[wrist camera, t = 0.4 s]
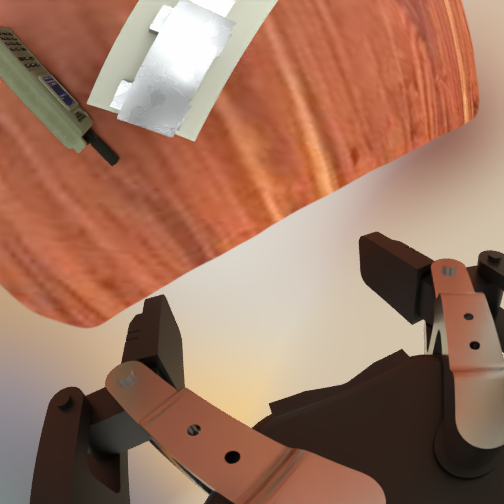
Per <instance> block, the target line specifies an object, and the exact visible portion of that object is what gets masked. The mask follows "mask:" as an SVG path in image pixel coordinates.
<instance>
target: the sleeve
mask: <svg viewBox="0 0 504 504" xmlns="http://www.w3.org/2000/svg"><path fill="white" fill-rule="evenodd" d="M235 24H236V22H234V21H232V20H230V19H228V18H226V17H224V16H222V15H220V14H218V13H216V12H214V11H212V10H209V9H207V8H205V7H203V6H201V5H198V4H196V3H194V2H191V1H189V0H179V2H178V3H177V5H176V6H175V8H172V7H169V6H167V5H163V6H162V8H161V10H160V11H159V13H158V14H157V16H156V18H155V19H154V21H153V22H152V24H151V26H150V27H149V32H150V33H152V34H155V35H158V36H157V37H156V39H155V41H154V43H153V44H152V46H151V48H150V50H149V52H148V54H147V55H146V57H145V59H144V61H143V63H142V65H141V67H140V69H139V71H138V73H137V75H136V77H135V79H134V81H133V82H131V81H128V80H126V79H123V80H122V81H121V83H120V85H119V87H118V89H117V92H116V94H115V96H114V98H113V101H112V103H111V105H110V107H113V108H116V109H119V110H120V112H119V114H118V117H117V119H119V120H122V121H125V122H128V123H131V124H134V125H137V126H140V127H143V128H146V129H148V130H151V131H154V132H157V133H159V134H162V135H165V136H168V137H170V138H173V136H174V134H175V132H176V130H177V131H179V129H180V127H181V125H182V123H183V121H184V119H185V117H186V115H187V113H188V111H189V109H190V107H191V106H190V105H189V103H190V101H191V100H192V98H193V96H194V94H195V92H196V90H197V88H198V86H199V85H200V83H201V81H202V79H203V77H204V75H205V74H206V72H207V70H208V68H209V67H210V65H211V63H212V61H213V60H214V58H218V57H219V55H220V53H221V52H222V50H223V48H224V47H225V45H226V43H227V42H228V40H229V39H230V37H231V35H232V34H230V32H231V30H232V29H233V27H234V26H235Z"/></svg>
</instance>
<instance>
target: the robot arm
mask: <svg viewBox="0 0 504 504" xmlns="http://www.w3.org/2000/svg"><path fill="white" fill-rule="evenodd" d="M359 253H360V271H361V276H362V278H363V280H364V282H365V284H366V285H367V286H369V287H370V288H371V289H372V290H373V291H374V292H376V293H377V294H378V295H379V296H380V297H381V298H383V299H384V300H385V301H386V302H387V303H388V304H389V305H391V306H392V307H393V308H394V309H395V310H396V311H397V312H398V313H399V314H401V315H402V316H403V317H404V318H405V319H406V320H407V321H408V322H410V323H411V324H412V325H413V324H415V323H417V322H419V321H421V320H423V319H424V320H425V323H424V355H417V356H411V357H409V356H408V355H407V354H406V353H405V352H404V351H403V349H401V350H399V351H397V352H395V353H393V354H391V355H389V356H387V357H385V358H383V359H381V360H379V361H377V362H374V363H373V364H372V365H370V366H369V367H368V368H367V369H365V370H364V371H362V372H361V373H360V374H358V375H357V376H356V377H354V378H353V379H351V380H350V381H349V382H347V383H345V384H343V385H338V386H332V387H327V388H321V389H316V390H309V391H304V392H302V393H299V394H296V395H293V396H290V397H287V398H284V399H281V400H278V401H275V402H272V403H269V406H270V409H271V412H272V414H271V415H269V416H267V417H265V418H264V419H262V420H261V421H260V422H258V423H257V424H256V425H255V426H254V427H252V428H250V427H248V426H247V425H245V424H243V423H241V422H240V421H238V420H236V419H235V418H233V417H231V416H230V415H228V414H226V413H225V412H223V411H221V410H220V409H218V408H217V407H215V406H213V405H212V404H210V403H208V402H207V401H206V400H204V399H203V398H201V397H199V396H198V395H197V394H195V393H194V392H192V391H191V390H189V389H187V388H185V384H184V369H183V350H182V338H181V334H180V331H179V328H178V325H177V323H176V321H175V318H174V316H173V314H172V311H171V309H170V307H169V304H168V301H167V299H166V297H165V296H164V295H159V296H156V297H152V298H149V299H145V302H144V307H143V312H142V313H141V314H138V315H136V316H135V317H134V318H133V320H132V321H131V322H130V324H129V328H128V334H127V337H126V342H125V347H124V352H123V357H122V362H121V364H120V365H118V366H116V367H115V368H114V369H113V370H112V371H111V372H110V373H109V374H108V376H107V378H106V382H105V386H106V387H104V388H102V389H100V390H98V391H96V392H94V393H91V394H89V395H87V396H85V395H84V394H83V392H82V391H81V390H80V389H79V388H77V387H67V388H65V389H63V390H60V391H59V392H58V393H57V394H55V395H54V396H53V398H52V399H51V401H50V403H49V405H48V409H47V413H46V417H45V421H44V425H43V429H42V433H41V438H40V442H39V447H38V452H37V457H36V463H35V469H34V474H33V481H32V489H31V496H30V504H130V495H129V481H128V480H129V479H128V453H127V452H128V449H131V448H133V447H135V446H138V445H140V444H142V443H144V442H146V441H149V442H150V443H151V444H152V445H153V446H154V447H155V448H156V449H157V450H158V451H159V452H160V453H161V454H162V455H163V456H165V457H166V458H167V459H168V460H169V461H170V462H171V463H172V464H173V465H174V466H176V467H177V468H178V469H179V470H180V471H181V472H182V473H183V474H185V475H186V476H187V477H188V478H189V479H190V480H191V481H192V482H194V483H195V484H196V485H197V486H198V487H199V488H201V489H202V490H203V491H204V492H206V493H207V494H208V495H209V497H208V498H207V500H206V501H205V503H204V504H504V358H503V354H502V352H503V353H504V309H502V308H501V307H500V304H501V300H502V296H503V292H504V254H503V253H500V252H497V251H491V250H489V251H483V252H481V253H480V254H479V258H478V265H477V266H472V267H467V268H466V267H465V265H464V264H463V263H461V262H459V261H457V260H454V259H439V260H436V261H433V260H432V259H430V258H428V257H427V256H425V255H423V254H421V253H419V252H418V251H415V250H414V249H413V248H411V247H410V248H409V246H407V245H406V244H404V243H402V242H400V241H396V240H392V239H390V238H388V237H386V236H384V235H383V234H381V233H379V232H373V233H370V234H367V235H364V236H361V237H360V239H359Z"/></svg>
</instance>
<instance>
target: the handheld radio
mask: <svg viewBox="0 0 504 504" xmlns="http://www.w3.org/2000/svg"><path fill="white" fill-rule="evenodd" d="M0 77H1V78H2V80H3V81H4V82H5V83H6V84H7V85H8V86H9V88H10V89H11V90H12V91H13V92H14V93H15V94H16V95H17V96H18V98H19V99H20V100H21V101H22V102H23V103H24V104H25V105H26V106H27V107H28V108H29V109H30V111H31V112H32V113H33V114H34V115H35V116H36V117H37V118H38V119H39V120H40V121H41V122H42V123H43V124H44V125H45V126H46V127H47V129H48V130H49V131H50V132H51V133H52V134H53V135H54V136H55V137H56V138H57V139H58V140H59V141H60V142H61V143H62V144H63V145H64V146H65V147H66V148H69V149H70V148H72V149H74V150H75V151H76V152H78V153H79V152H81V151H82V150H83V148H85V146H86V145H87V144H89V143H91V145H92V146H93V147H94V148H95V149H96V150H97V151H98V152H99V153H100V155H101V156H102V157H103V158H104V159H105V160H106V161H107V162H108V163H109V164H110V165H111V166H113V165H115V164H116V163H117V162H118V160H119V158H118V157H117V155H116V154H115V153H114V152H113V151H112V150H111V149H110V148H109V147H108V146H107V145H106V144H105V143H104V142H103V141H102V140H101V139H100V138H99V137H97V136H96V135H95V134H94V132H93V131H92V130H91V129H90V127H91V126H92V125H93V120H92V119H91V118H90V116H89V115H88V114H87V113H86V112H85V111H84V110H83V109H82V108H81V107H80V106H79V105H78V102H77V101H76V100H75V99H74V98H73V97H72V96H71V95H70V94H69V93H68V92H67V90H66V89H65V88H64V87H63V86H62V85H61V84H60V83H59V82H58V81H57V80H56V79H55V77H54V76H53V75H52V74H50V73H49V72H48V70H47V69H46V68H45V67H44V66H43V65H42V64H41V63H40V62H39V61H38V60H37V58H36V57H35V56H34V55H33V54H32V53H31V52H30V51H29V50H28V49H27V47H26V46H25V45H24V44H23V43H22V42H21V41H20V40H19V39H18V37H17V36H16V35H15V34H14V33H13V32H12V31H11V30H10V28H6V27H0Z"/></svg>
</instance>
